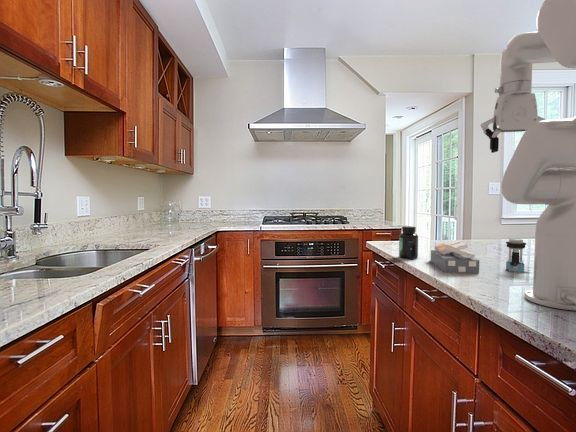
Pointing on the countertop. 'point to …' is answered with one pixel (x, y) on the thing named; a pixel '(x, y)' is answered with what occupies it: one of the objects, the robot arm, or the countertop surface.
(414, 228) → the supplement bottle
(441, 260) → the console
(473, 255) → the rocker
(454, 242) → the rocker
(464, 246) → the rocker
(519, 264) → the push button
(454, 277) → the countertop surface
